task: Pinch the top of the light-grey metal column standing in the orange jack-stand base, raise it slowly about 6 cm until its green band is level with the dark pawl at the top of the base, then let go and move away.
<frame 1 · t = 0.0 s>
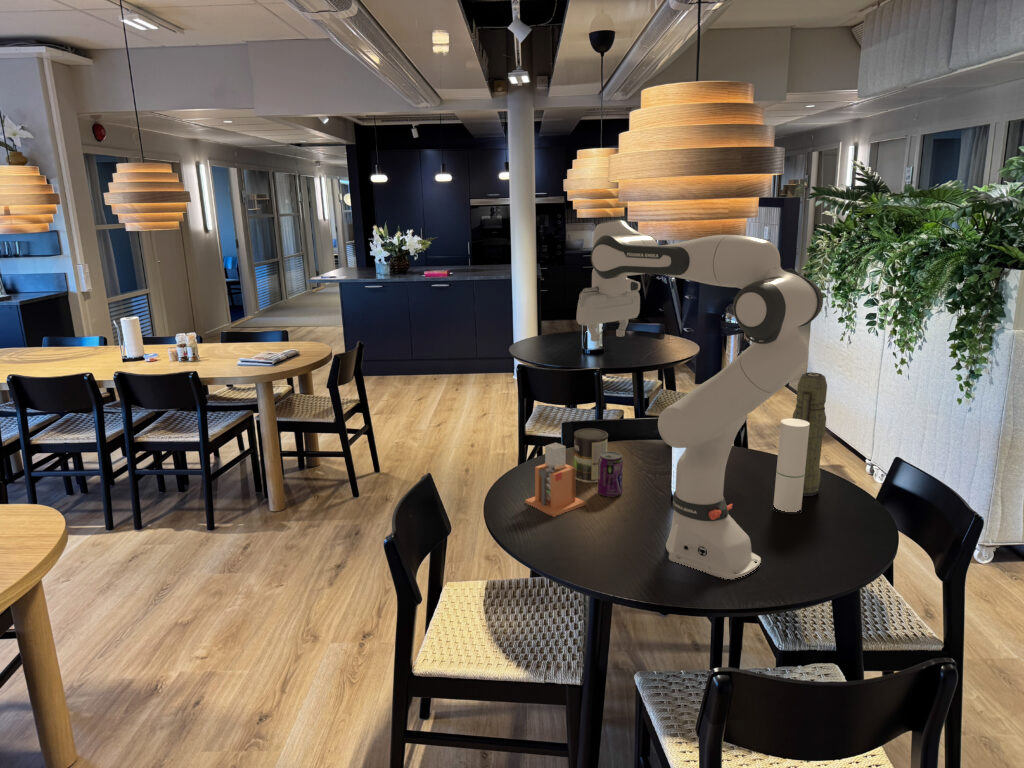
hand: (607, 338, 184), 48 cm above the table, tool pointing down, fingers open, 8 cm apart
cylindrical container: (787, 509, 195), on the table
stand base: (555, 503, 200), on the table
beverage can: (609, 494, 207), on the table
column: (554, 473, 198), point 9 cm above the table, slide at 0.0 cm
coffee can: (590, 477, 220), on the table
thermos: (802, 491, 207), on the table
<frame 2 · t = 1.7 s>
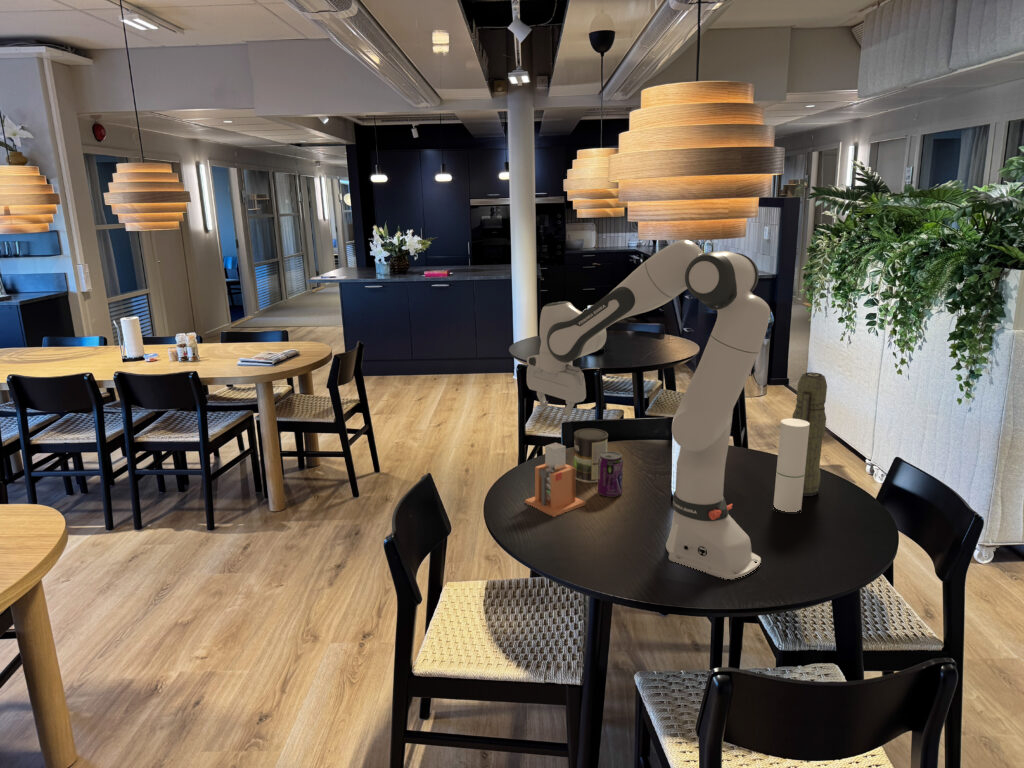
hand: (555, 411, 193), 27 cm above the table, tool pointing down, fingers open, 8 cm apart
nothing on the table moved.
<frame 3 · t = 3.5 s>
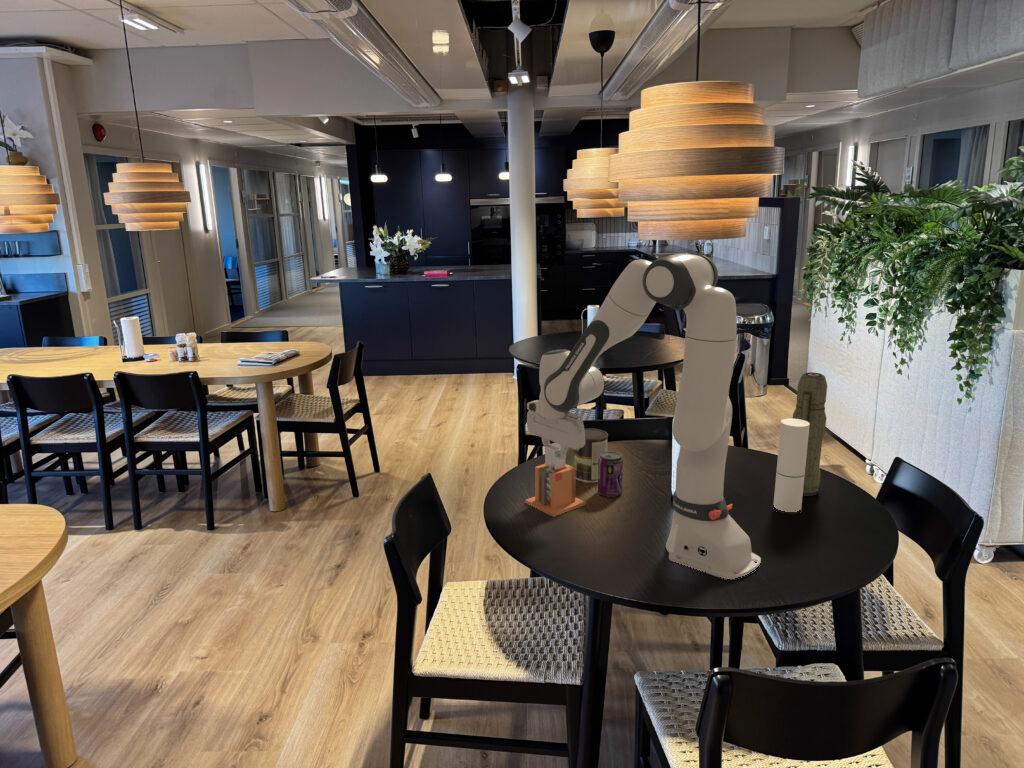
hand: (555, 455, 197), 14 cm above the table, tool pointing down, fingers closed on column, 4 cm apart
column: (554, 473, 198), point 9 cm above the table, slide at 0.0 cm, touching gripper
everything else where it was.
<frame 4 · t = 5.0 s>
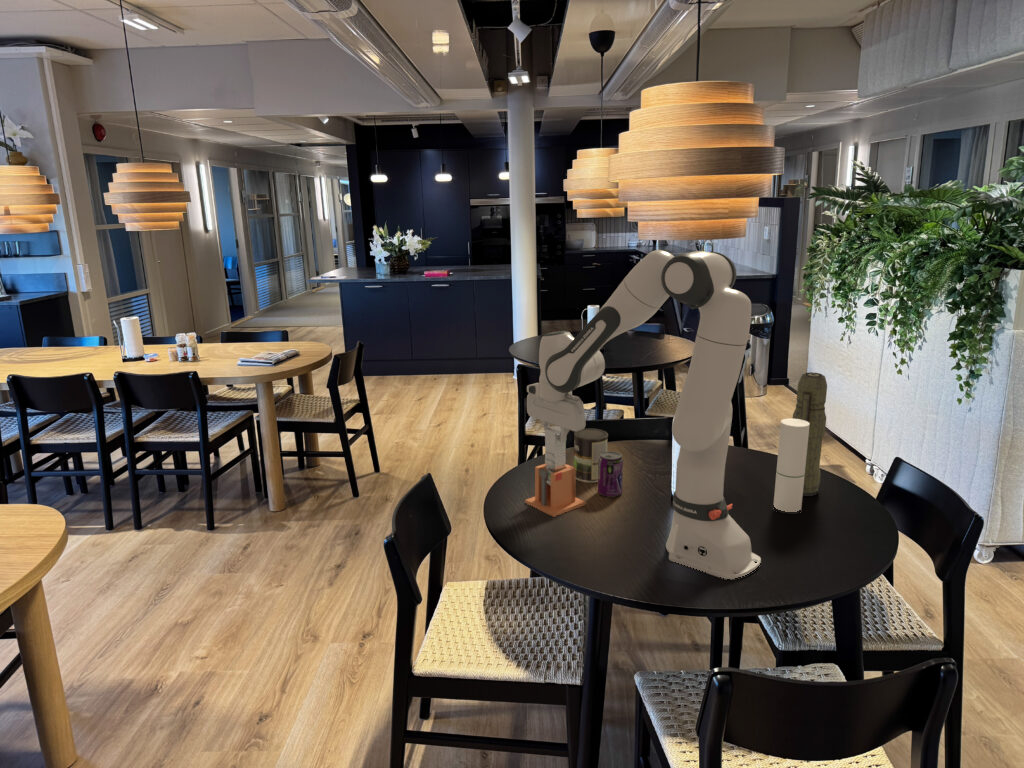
hand: (555, 438, 195), 19 cm above the table, tool pointing down, fingers closed on column, 4 cm apart
column: (554, 456, 196), point 14 cm above the table, slide at 4.9 cm, touching gripper
everything else where it was.
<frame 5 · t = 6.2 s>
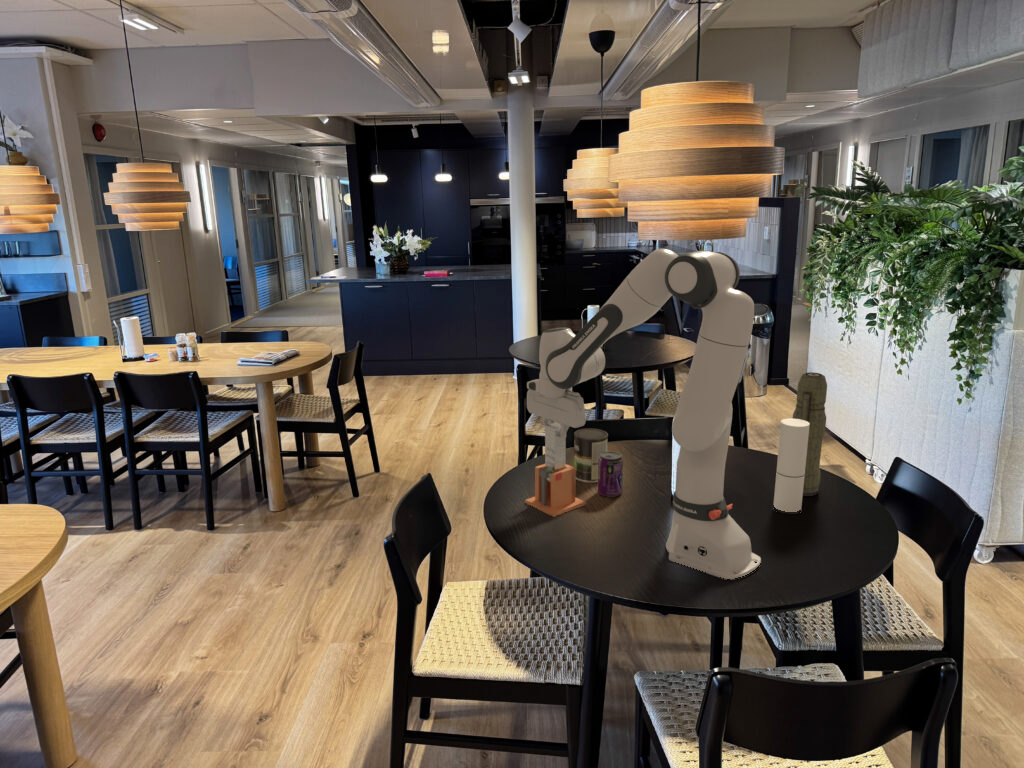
hand: (555, 435, 195), 20 cm above the table, tool pointing down, fingers closed on column, 4 cm apart
column: (554, 453, 196), point 15 cm above the table, slide at 5.9 cm, touching gripper
everything else where it was.
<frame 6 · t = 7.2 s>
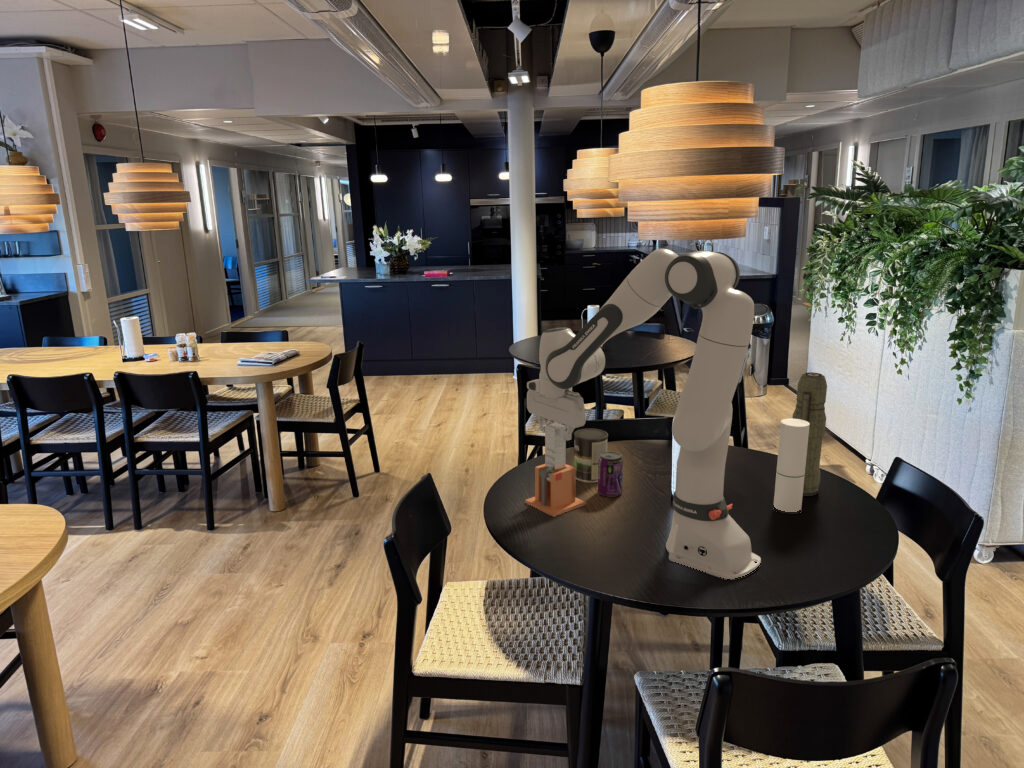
hand: (555, 435, 195), 20 cm above the table, tool pointing down, fingers open, 8 cm apart
column: (554, 453, 196), point 15 cm above the table, slide at 5.9 cm
everything else where it was.
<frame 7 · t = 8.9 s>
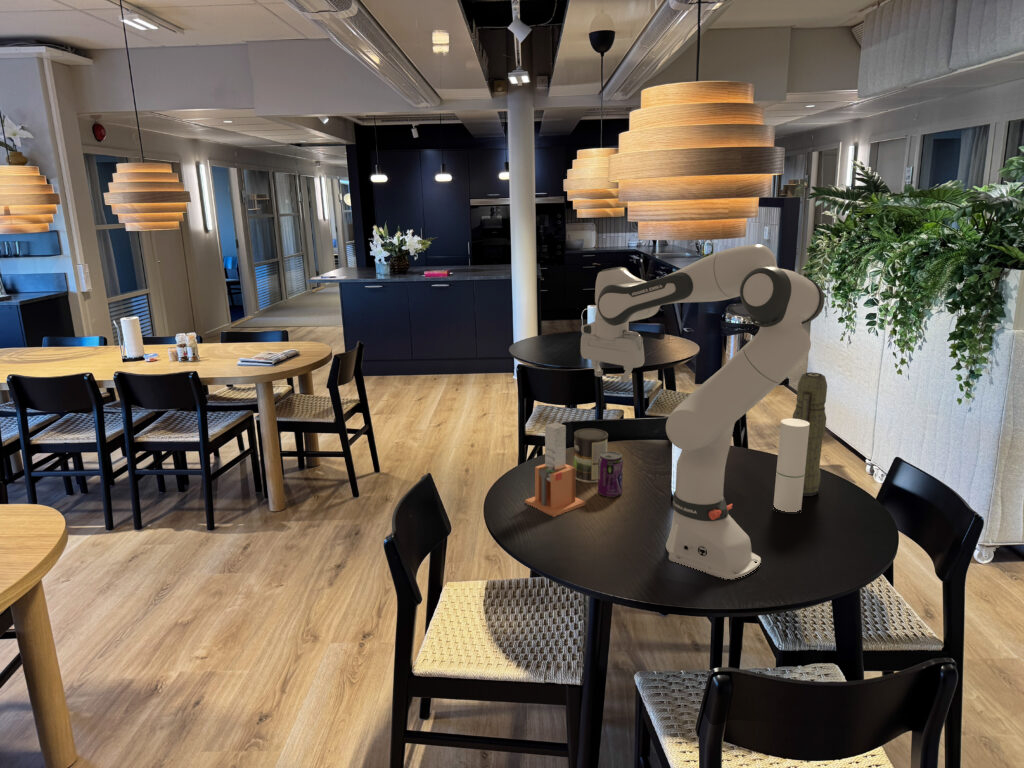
hand: (611, 378, 193), 36 cm above the table, tool pointing down, fingers open, 8 cm apart
nothing on the table moved.
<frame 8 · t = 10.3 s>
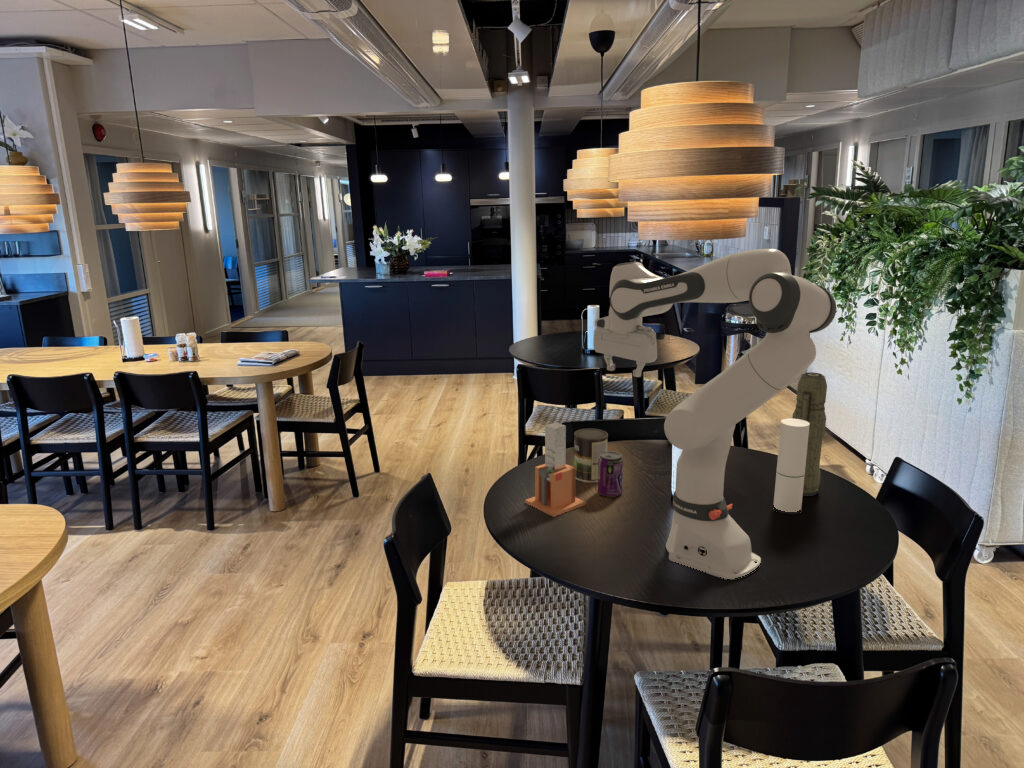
hand: (623, 373, 193), 37 cm above the table, tool pointing down, fingers open, 8 cm apart
nothing on the table moved.
at the end: column slide at 5.9 cm; the gripper is holding nothing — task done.
